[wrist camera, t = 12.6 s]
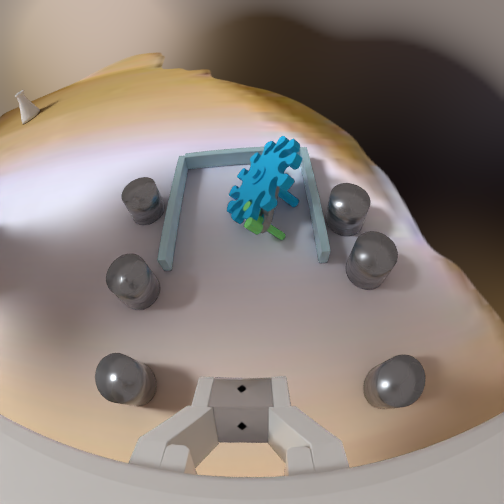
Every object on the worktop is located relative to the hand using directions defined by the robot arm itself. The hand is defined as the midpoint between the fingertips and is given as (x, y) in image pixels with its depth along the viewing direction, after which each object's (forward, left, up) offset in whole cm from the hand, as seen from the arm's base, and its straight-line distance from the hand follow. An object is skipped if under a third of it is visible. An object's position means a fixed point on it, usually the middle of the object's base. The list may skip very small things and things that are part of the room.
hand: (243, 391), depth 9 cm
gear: (+1, +19, -13) cm, 23 cm away
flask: (-66, +66, -13) cm, 94 cm away
